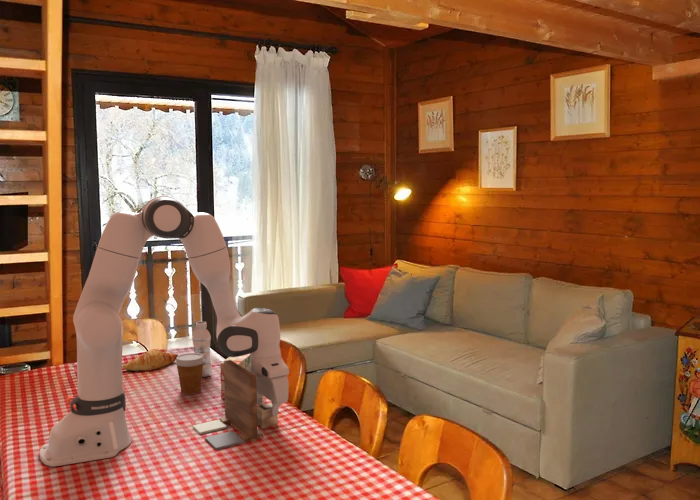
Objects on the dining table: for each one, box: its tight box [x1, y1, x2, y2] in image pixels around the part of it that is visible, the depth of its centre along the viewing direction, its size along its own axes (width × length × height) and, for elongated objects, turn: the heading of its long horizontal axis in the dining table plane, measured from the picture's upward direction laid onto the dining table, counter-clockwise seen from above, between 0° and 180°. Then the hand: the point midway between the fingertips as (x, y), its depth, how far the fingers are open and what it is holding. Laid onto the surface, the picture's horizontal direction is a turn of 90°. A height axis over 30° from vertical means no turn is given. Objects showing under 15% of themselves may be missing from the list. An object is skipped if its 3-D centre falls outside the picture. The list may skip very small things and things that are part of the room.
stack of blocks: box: [219, 354, 250, 400], centre depth 211 cm, size 21×6×12 cm, turn 167°
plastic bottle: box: [191, 320, 213, 378], centre depth 223 cm, size 6×7×20 cm
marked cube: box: [257, 402, 279, 429], centre depth 181 cm, size 5×5×5 cm
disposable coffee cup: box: [174, 352, 204, 395], centre depth 208 cm, size 10×10×12 cm
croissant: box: [122, 348, 179, 372], centre depth 236 cm, size 21×10×8 cm
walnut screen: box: [219, 360, 264, 443], centre depth 176 cm, size 6×18×18 cm, turn 34°
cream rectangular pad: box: [192, 419, 228, 435], centre depth 178 cm, size 8×6×1 cm
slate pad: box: [204, 430, 245, 451], centre depth 169 cm, size 8×8×1 cm
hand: (267, 409), depth 181 cm, fingers open, 8 cm apart
